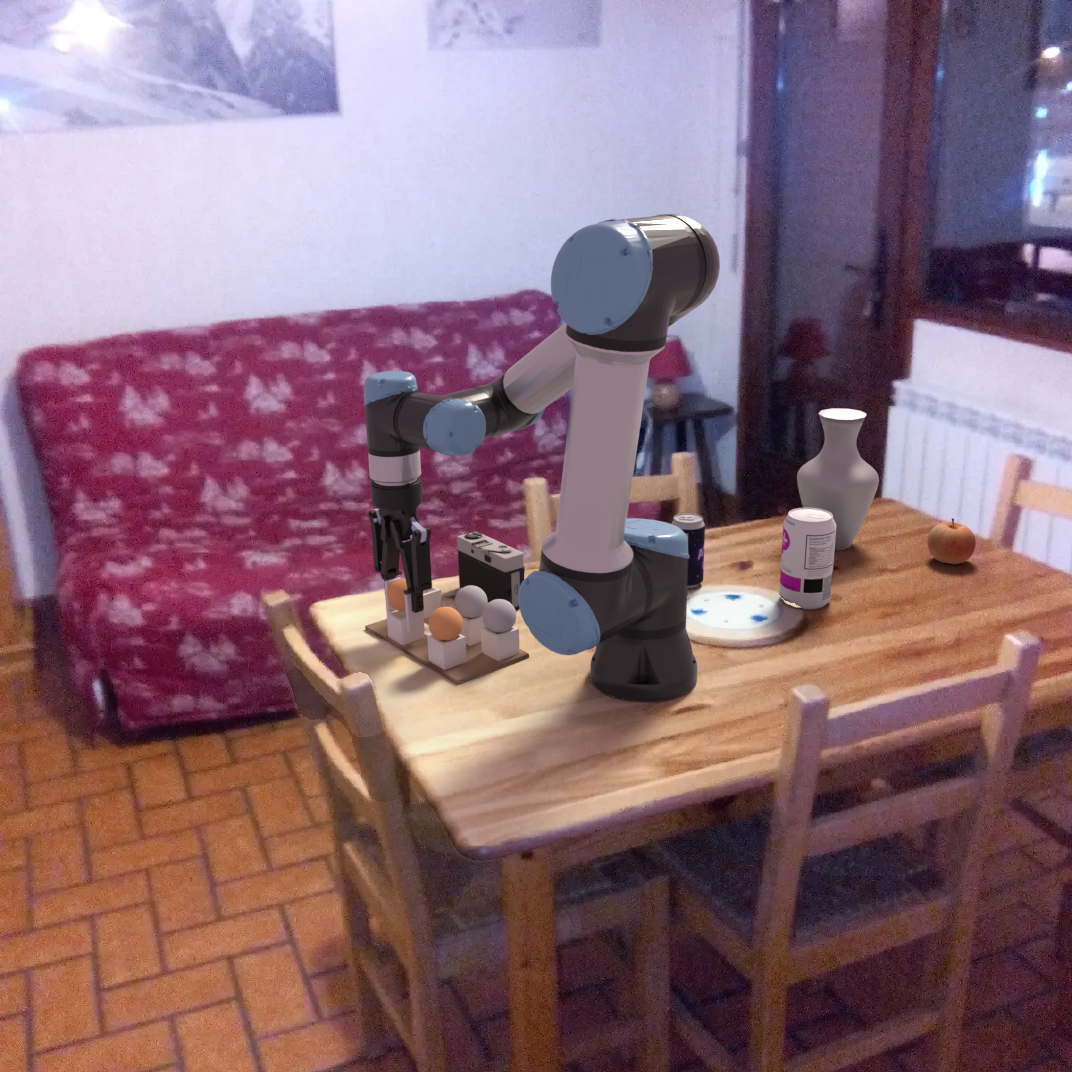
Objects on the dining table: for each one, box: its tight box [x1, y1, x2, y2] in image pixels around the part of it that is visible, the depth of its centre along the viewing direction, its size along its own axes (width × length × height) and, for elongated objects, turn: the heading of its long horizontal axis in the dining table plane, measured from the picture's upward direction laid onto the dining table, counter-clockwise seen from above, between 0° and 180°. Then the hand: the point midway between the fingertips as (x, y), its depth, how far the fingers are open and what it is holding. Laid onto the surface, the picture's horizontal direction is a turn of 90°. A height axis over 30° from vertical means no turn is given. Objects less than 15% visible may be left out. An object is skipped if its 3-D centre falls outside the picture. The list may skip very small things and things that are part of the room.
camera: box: [456, 531, 526, 611], centre depth 188 cm, size 14×8×10 cm, turn 37°
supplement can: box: [778, 507, 836, 610], centre depth 182 cm, size 8×8×15 cm
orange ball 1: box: [387, 578, 407, 611], centre depth 171 cm, size 5×5×5 cm
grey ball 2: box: [482, 599, 517, 633], centre depth 165 cm, size 5×5×5 cm
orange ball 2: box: [429, 606, 463, 641], centre depth 163 cm, size 5×5×5 cm
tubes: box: [386, 585, 520, 670], centre depth 172 cm, size 24×12×4 cm, turn 39°
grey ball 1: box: [454, 585, 488, 619], centre depth 170 cm, size 5×5×5 cm
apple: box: [926, 517, 977, 565], centre depth 199 cm, size 8×8×8 cm
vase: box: [796, 407, 880, 551], centre depth 205 cm, size 14×14×25 cm
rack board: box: [364, 617, 530, 685], centre depth 172 cm, size 25×13×1 cm, turn 39°
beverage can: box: [670, 512, 706, 589], centre depth 190 cm, size 6×6×12 cm
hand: (405, 623), depth 172 cm, fingers closed on orange ball 1, 5 cm apart
